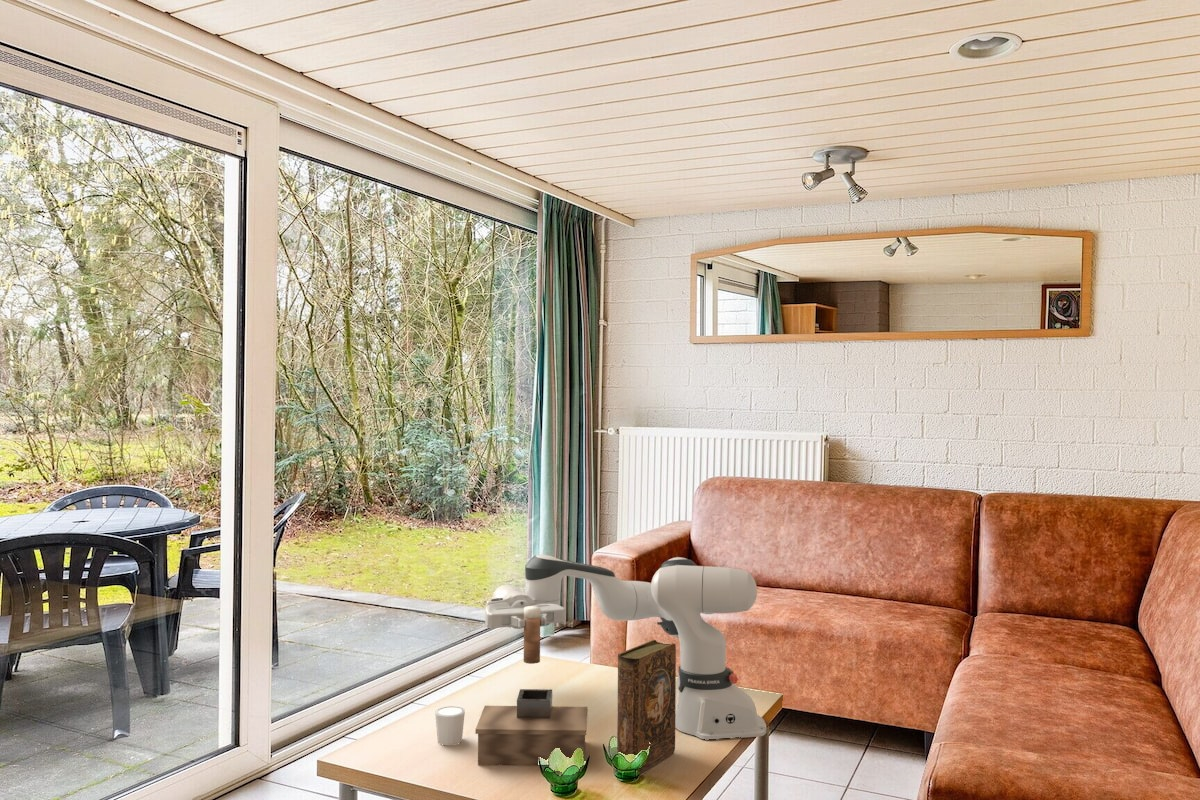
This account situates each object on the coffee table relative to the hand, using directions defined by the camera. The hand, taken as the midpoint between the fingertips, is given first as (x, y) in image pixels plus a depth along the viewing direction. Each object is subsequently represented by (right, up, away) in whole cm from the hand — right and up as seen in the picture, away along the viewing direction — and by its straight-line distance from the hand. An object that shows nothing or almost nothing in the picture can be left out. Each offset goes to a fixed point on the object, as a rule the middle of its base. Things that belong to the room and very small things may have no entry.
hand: (533, 623), depth 211 cm
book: (+26, -26, -20) cm, 42 cm away
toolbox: (+1, -25, -16) cm, 30 cm away
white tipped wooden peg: (0, -10, +1) cm, 10 cm away
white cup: (-19, -25, -9) cm, 33 cm away
